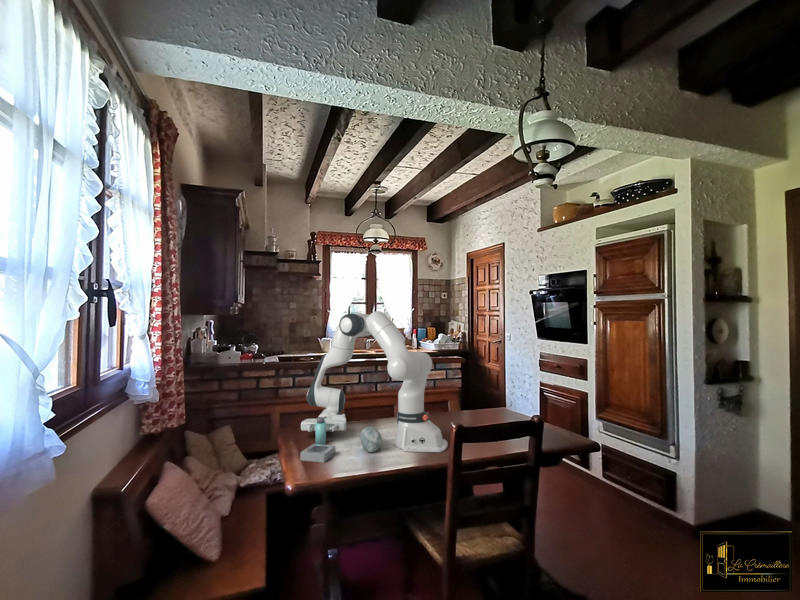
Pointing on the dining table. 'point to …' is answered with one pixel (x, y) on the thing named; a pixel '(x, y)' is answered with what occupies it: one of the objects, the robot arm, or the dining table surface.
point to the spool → (371, 439)
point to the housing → (317, 453)
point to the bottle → (320, 431)
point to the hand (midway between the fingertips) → (320, 430)
